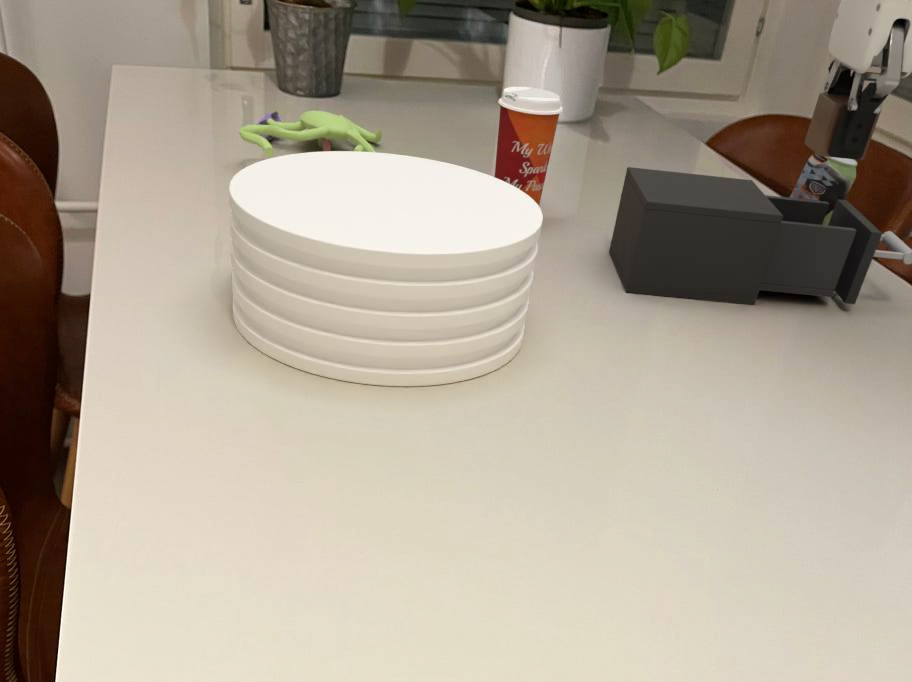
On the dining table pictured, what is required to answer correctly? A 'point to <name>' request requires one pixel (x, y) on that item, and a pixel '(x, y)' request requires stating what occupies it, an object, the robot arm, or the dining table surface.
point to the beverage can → (825, 181)
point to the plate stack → (381, 266)
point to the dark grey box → (693, 236)
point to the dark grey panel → (825, 249)
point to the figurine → (309, 131)
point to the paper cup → (526, 137)
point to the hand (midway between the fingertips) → (835, 147)
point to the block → (828, 123)
